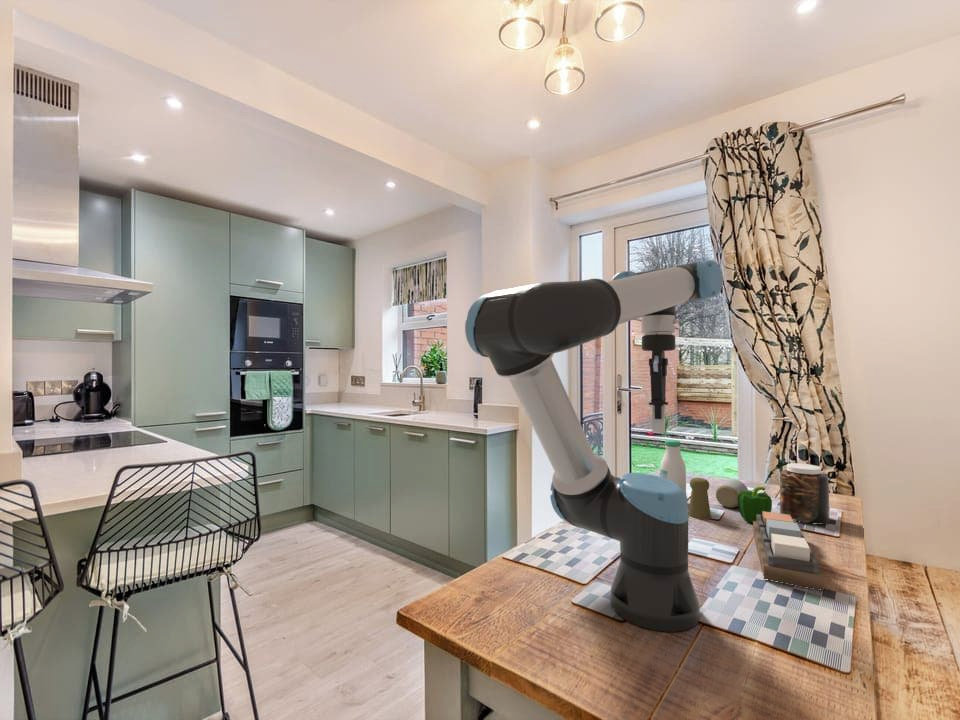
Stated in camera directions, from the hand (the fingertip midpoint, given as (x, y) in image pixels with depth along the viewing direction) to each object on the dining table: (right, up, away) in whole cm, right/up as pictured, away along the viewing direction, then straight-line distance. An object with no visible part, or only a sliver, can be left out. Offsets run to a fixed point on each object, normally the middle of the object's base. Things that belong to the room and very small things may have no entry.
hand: (658, 432), depth 109 cm
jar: (+51, -29, +23) cm, 63 cm away
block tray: (+27, -28, -4) cm, 39 cm away
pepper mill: (+22, -29, +24) cm, 44 cm away
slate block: (+27, -24, -4) cm, 36 cm away
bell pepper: (+35, -29, +20) cm, 50 cm away
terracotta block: (+32, -25, +5) cm, 41 cm away
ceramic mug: (+38, -29, +33) cm, 58 cm away
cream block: (+22, -24, -14) cm, 35 cm away
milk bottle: (+19, -29, +37) cm, 51 cm away
